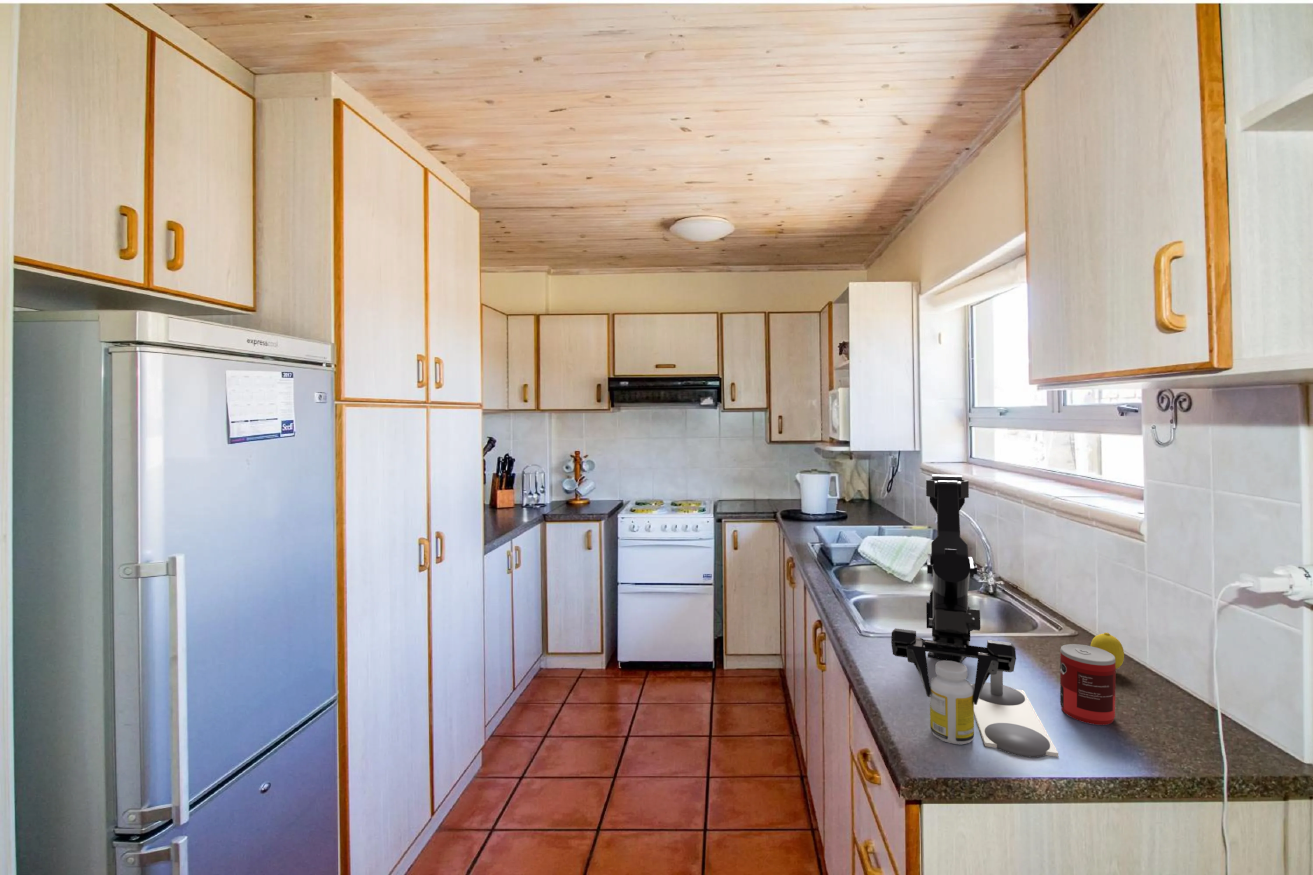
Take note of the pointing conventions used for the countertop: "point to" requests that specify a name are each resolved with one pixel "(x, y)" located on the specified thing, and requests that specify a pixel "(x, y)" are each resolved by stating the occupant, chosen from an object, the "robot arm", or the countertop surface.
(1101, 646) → the lemon
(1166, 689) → the countertop surface
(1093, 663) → the canned food
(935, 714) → the pill bottle
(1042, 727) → the board
